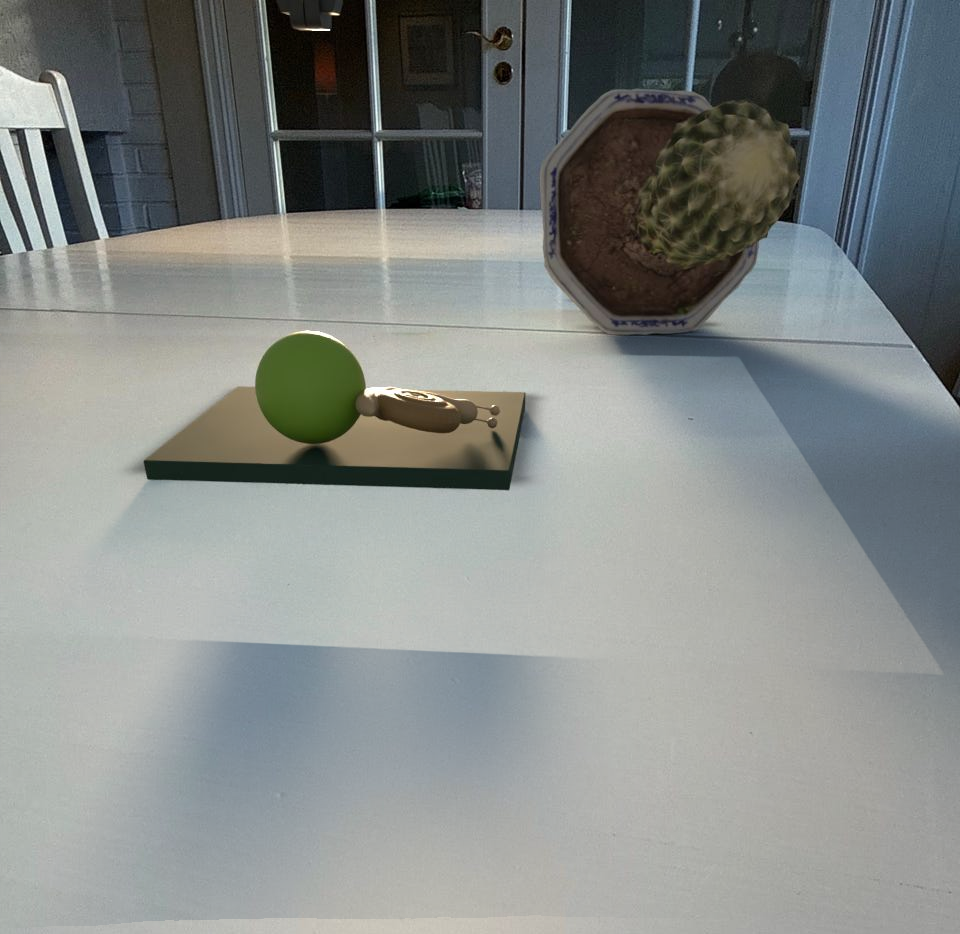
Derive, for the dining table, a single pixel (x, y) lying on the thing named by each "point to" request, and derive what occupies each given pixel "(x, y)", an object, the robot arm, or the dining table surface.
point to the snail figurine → (342, 393)
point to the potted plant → (662, 206)
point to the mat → (345, 449)
